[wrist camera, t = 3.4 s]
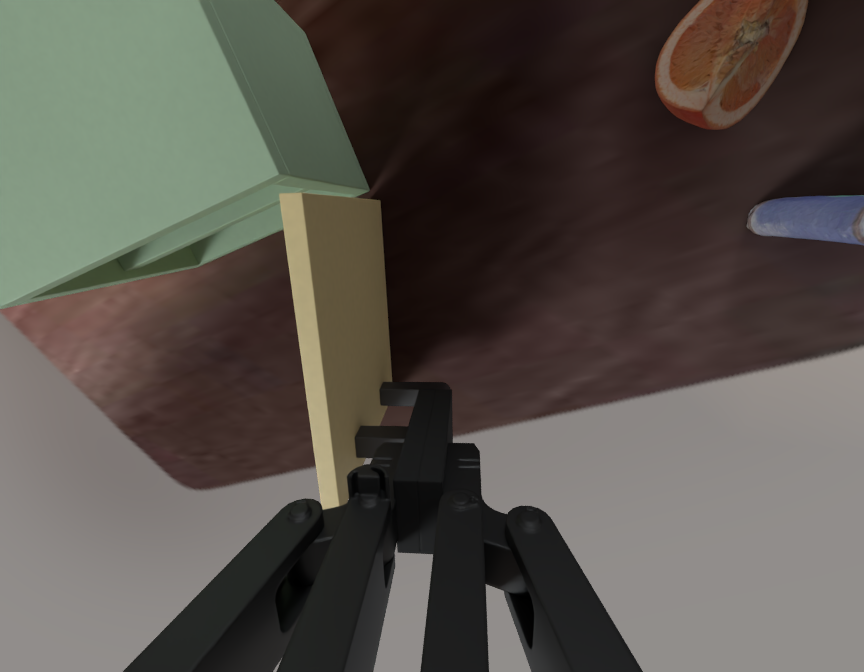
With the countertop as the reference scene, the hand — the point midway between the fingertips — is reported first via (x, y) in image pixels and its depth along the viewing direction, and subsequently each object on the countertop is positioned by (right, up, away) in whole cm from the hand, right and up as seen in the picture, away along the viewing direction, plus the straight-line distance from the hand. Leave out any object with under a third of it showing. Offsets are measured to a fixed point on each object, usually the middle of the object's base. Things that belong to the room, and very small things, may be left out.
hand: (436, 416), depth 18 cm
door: (-2, +6, +14) cm, 15 cm away
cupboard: (-14, +17, +12) cm, 25 cm away
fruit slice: (+17, +21, +8) cm, 28 cm away
